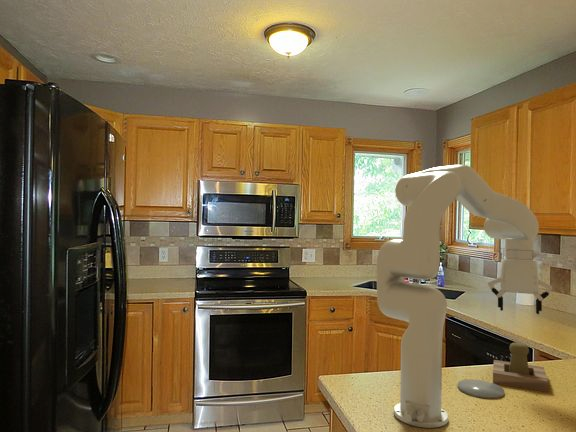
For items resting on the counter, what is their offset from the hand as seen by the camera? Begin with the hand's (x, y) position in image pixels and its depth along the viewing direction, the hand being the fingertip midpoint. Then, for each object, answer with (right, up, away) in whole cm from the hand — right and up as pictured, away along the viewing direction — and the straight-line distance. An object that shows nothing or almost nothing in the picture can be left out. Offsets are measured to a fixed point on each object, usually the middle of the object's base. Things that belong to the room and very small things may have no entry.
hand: (519, 311), depth 129 cm
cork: (0, -21, 0) cm, 21 cm away
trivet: (-16, -20, -9) cm, 27 cm away
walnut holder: (0, -21, 0) cm, 21 cm away
